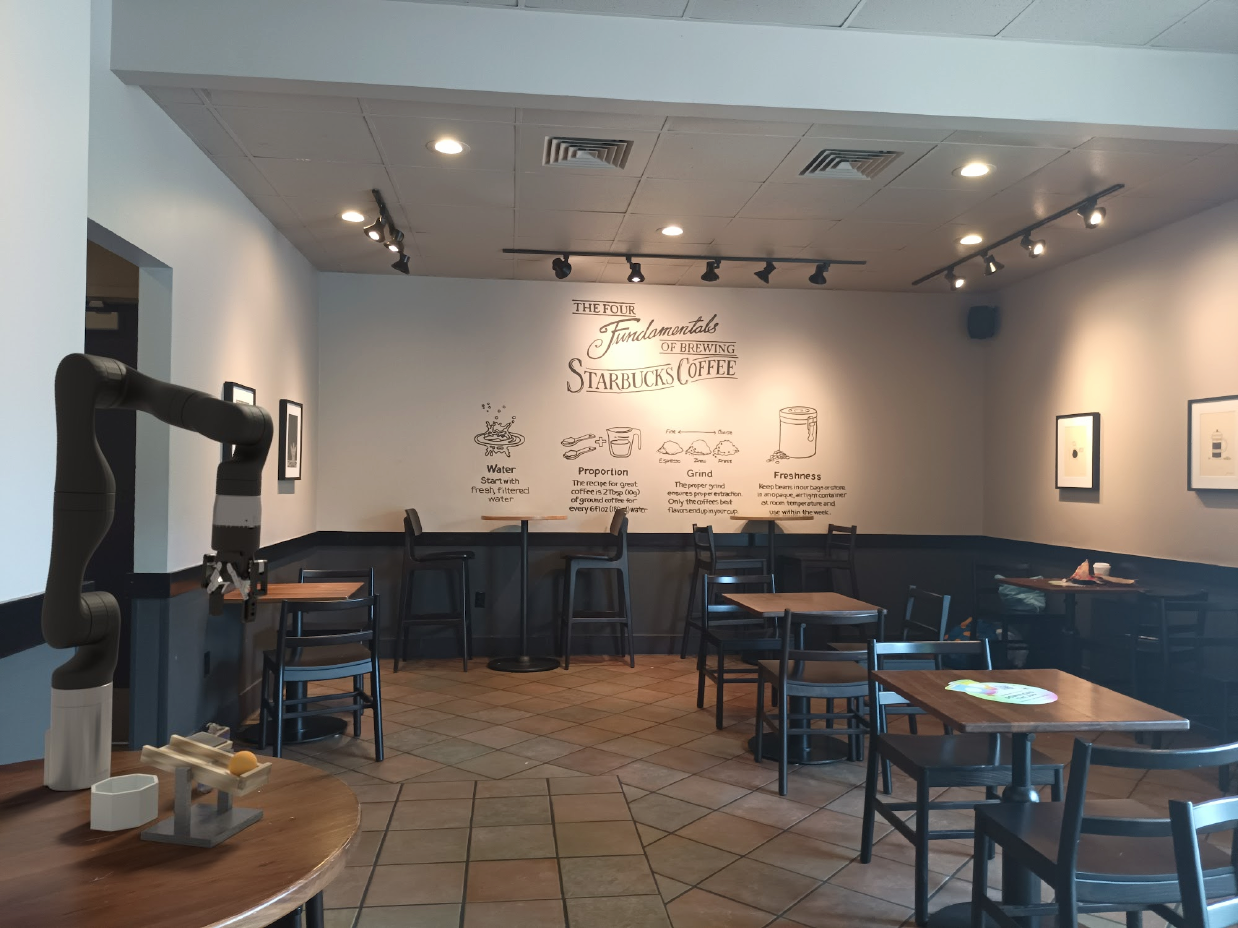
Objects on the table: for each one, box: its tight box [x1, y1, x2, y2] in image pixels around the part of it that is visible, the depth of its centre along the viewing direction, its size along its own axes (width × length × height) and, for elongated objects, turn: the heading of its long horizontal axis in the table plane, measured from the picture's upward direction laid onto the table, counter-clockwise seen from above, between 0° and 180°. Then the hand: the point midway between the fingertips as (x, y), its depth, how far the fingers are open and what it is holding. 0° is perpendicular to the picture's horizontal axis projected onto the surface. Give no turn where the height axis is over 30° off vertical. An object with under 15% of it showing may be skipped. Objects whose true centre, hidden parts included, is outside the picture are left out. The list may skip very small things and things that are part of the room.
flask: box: [196, 722, 231, 795], centre depth 151 cm, size 9×3×11 cm, turn 2°
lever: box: [139, 731, 273, 798], centre depth 135 cm, size 18×14×3 cm
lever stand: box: [140, 748, 264, 849], centre depth 132 cm, size 12×12×11 cm
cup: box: [89, 773, 160, 832], centre depth 135 cm, size 9×9×6 cm
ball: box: [229, 750, 258, 777], centre depth 131 cm, size 4×4×4 cm
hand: (231, 618), depth 144 cm, fingers open, 8 cm apart
